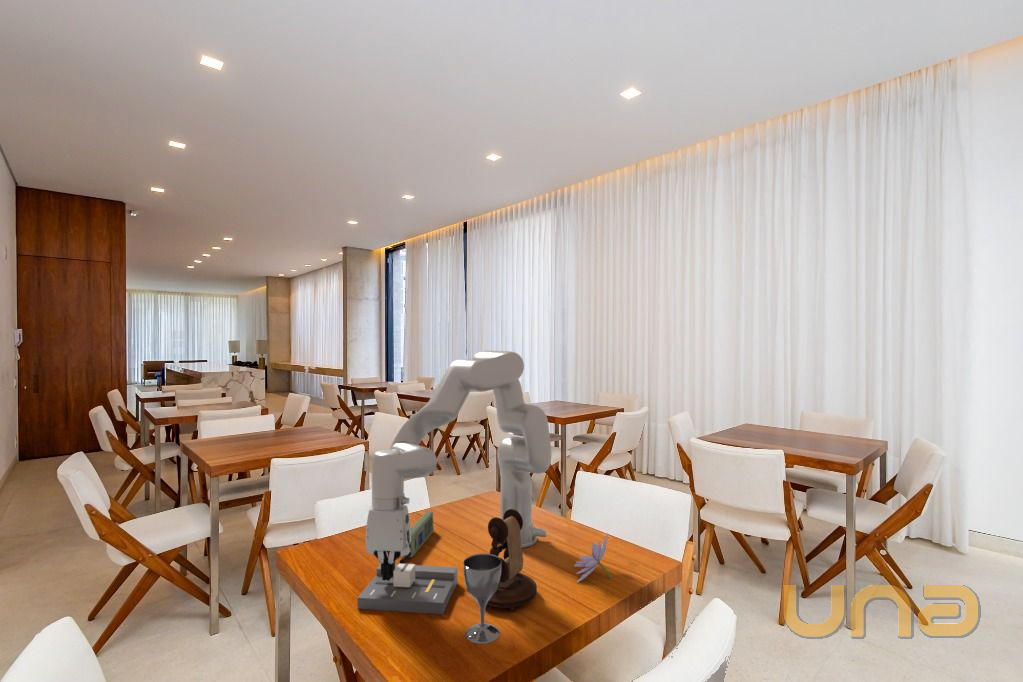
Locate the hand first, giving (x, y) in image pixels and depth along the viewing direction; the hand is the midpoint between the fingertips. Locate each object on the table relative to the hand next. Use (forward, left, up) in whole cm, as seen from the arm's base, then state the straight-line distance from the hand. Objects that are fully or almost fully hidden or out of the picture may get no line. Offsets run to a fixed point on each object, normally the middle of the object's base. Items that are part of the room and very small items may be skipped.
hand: (388, 577), depth 118 cm
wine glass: (-25, +13, -4) cm, 29 cm away
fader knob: (-4, 0, -1) cm, 4 cm away
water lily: (-49, -16, -4) cm, 52 cm away
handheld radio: (+1, -27, -4) cm, 27 cm away
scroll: (-28, -2, -4) cm, 29 cm away
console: (-5, 0, -4) cm, 7 cm away
